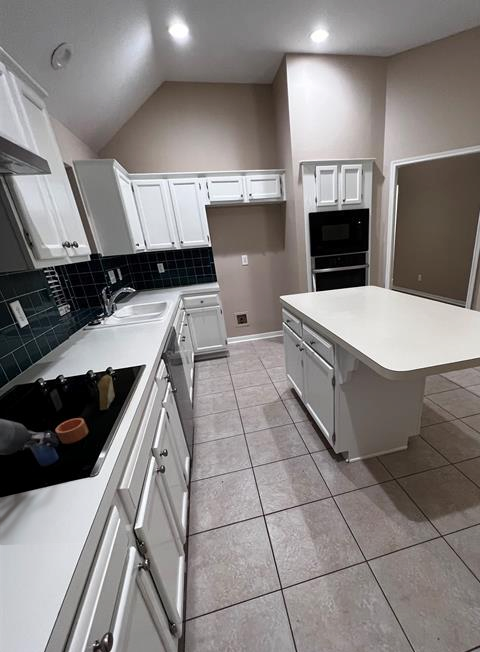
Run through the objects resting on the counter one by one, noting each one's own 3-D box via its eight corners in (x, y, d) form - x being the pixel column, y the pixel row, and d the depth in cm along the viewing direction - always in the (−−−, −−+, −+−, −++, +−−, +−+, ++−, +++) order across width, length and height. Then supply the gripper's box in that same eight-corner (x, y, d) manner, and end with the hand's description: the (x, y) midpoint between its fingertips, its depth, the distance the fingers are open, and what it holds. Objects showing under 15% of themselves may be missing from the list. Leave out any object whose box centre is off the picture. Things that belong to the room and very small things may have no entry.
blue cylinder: (37, 462, 86) (24, 439, 82) (55, 453, 89) (43, 430, 86) (43, 468, 83) (29, 444, 80) (61, 458, 87) (49, 435, 83)
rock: (109, 406, 106) (127, 388, 114) (87, 389, 103) (107, 372, 111) (97, 419, 111) (114, 401, 119) (75, 404, 109) (95, 386, 117)
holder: (56, 438, 95) (51, 428, 94) (82, 425, 101) (77, 415, 99) (66, 446, 91) (61, 435, 90) (92, 433, 97) (88, 422, 95)
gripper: (31, 414, 72) (75, 426, 88) (-37, 424, 71) (20, 435, 87) (28, 447, 70) (73, 453, 86) (-43, 458, 68) (17, 463, 84)
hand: (46, 444), depth 86 cm, fingers closed on blue cylinder, 4 cm apart
